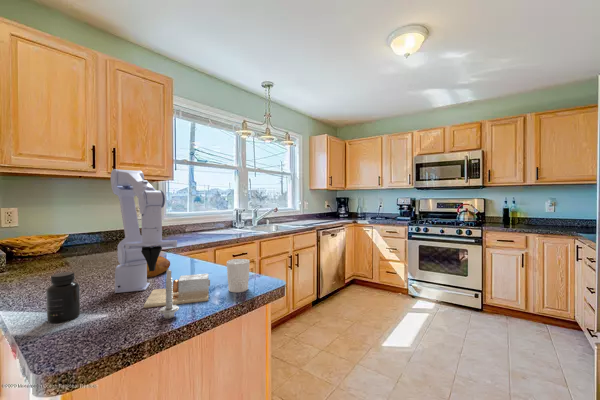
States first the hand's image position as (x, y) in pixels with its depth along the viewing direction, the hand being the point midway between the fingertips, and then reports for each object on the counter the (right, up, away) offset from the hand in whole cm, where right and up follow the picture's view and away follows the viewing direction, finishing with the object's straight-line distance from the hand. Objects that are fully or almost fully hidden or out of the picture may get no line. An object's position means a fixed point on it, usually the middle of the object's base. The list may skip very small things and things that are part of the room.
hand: (152, 270), depth 88 cm
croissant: (-18, -10, +32) cm, 38 cm away
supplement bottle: (-17, -10, -14) cm, 24 cm away
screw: (+12, -10, -13) cm, 20 cm away
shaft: (+11, -8, +4) cm, 14 cm away
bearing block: (+8, -9, +2) cm, 12 cm away
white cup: (+25, -9, +9) cm, 29 cm away
